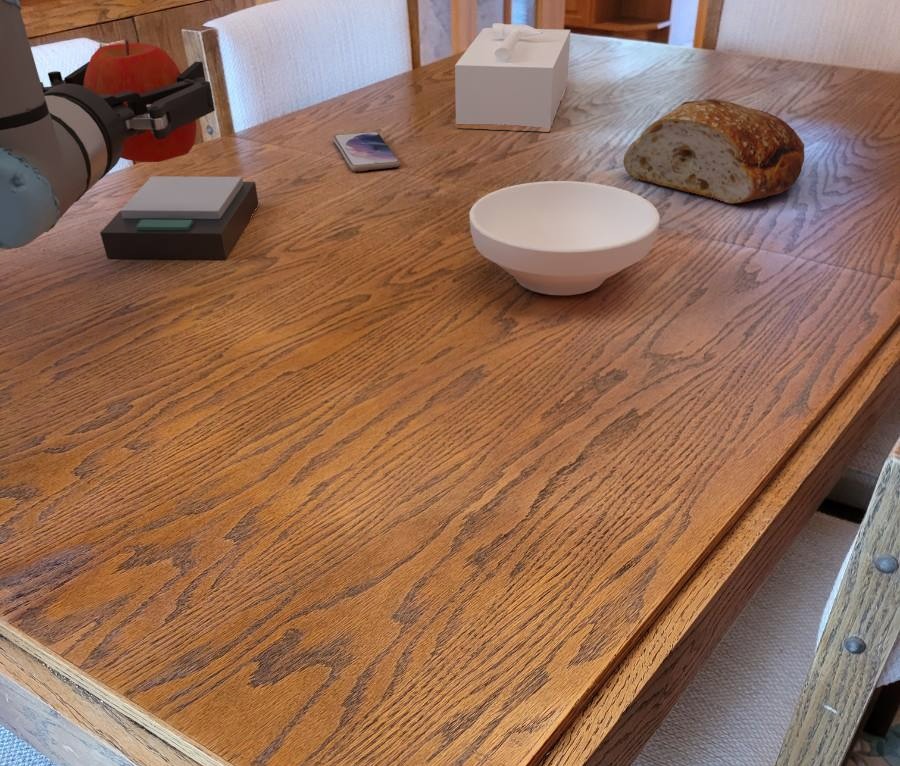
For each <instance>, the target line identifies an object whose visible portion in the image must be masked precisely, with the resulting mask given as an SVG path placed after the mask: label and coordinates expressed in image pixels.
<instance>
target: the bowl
mask: <svg viewBox="0 0 900 766" xmlns="http://www.w3.org/2000/svg"><path fill="white" fill-rule="evenodd" d="M468 214H469V215H468V216H469V228H470V229H469V230H470V235H471V238H472V242H473V246H474V247H475V249H476V250H477V252H479V253H480V255H481V256H483V257H484V258H486V259H488V260H489V261H491V262H492V263H495V264H496V265H497V266H499V267H500V268H501V269H502V270H504V271H505V272H507V273H508V274H510V275H511V276H513V277H514V279H515V280H516V282H517V283H518V284H519V285H520V286H521V287H523V288H525V289H526V290H530V291H532V292H534V293H539V294H543V295H550V296H573V295H581V294H586V293H589V292H591V291H593V290H595V289H597V288H599V287H600V286H602V284H604V282H605V281H606V280H608V278H611V277H612V276H613V275H616V274H618V273H619V272H621V271H622V270H624V269H626V268H628V267H630V266H632V265H634V264H636V263H638V262H641V260H643V259H644V258H645V257H646V256H647V255H649V253H650V251H651V250H652V248H653V246H654V243H655V241H656V239H657V236H658V232H659V227H660V221H661V220H660V218H661V215H660V213H659V211H658V209H657V208H656V206H655V205H653V204H652V203H651V202H650V201H649V200H648V199H646V198H644V197H642V196H641V195H639V194H636V193H634V192H631V191H629V190H627V189H623V188H619V187H615V186H612V185H607V184H601V183H594V182H585V181H575V180H574V181H571V180H549V181H547V180H546V181H535V182H527V183H522V184H521V183H520V184H514V185H511V186H507V187H503V188H500V189H497V190H494V191H492V192H489V193H488V194H486V195H484V196H483V197H480V198H479V199H478V200H477V201H476V202H475V203H474V204H473V205H472V206H471V209H470V210H469V212H468Z"/></svg>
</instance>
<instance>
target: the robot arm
mask: <svg viewBox="0 0 900 766" xmlns="http://www.w3.org/2000/svg"><path fill="white" fill-rule="evenodd" d="M21 10H22V4H21V1H20V0H0V249H3V250H14V249H19V248H23V247H25V246H27V245H29V244H31V243H32V242H34V241H35V240H36V239H38V238H39V237H40V236H42V235H44V233H49V231H51V230H52V229H54V228H55V227H56V225H57V223H58V222H59V220H60V219H61V218H62V217H63V216H64V215H65V213H67V212H68V210H69V209H70V208H71V207H72V206H73V205H74V203H77V202H78V201H79V200H80V199H81V198H82V197H83V196H84V195H85V194H86V193H87V192H88V191H89V190H90V189H92V188H93V186H95V185H96V184H97V183H98V182H99V181H101V180H102V179H103V178H104V177H105V176H107V174H108V173H110V171H112V169H114V168H115V166H116V165H117V164H118V163H119V161H120V159H121V158H120V157H121V154H122V151H123V147H124V143H125V140H126V139H127V138H130V137H133V136H135V135H138V134H141V133H144V132H146V130H147V129H151V131H152V134H154V138H156V139H164V138H166V137H167V136H168V135H169V134H170V133H171V132H172V131H174V130H176V129H178V128H180V127H182V126H184V125H186V124H188V123H190V122H192V121H194V120H196V121H197V120H199V119H201V118H203V117H205V116H207V115H209V114H211V113H213V112H215V111H216V109H215V104H214V98H213V92H212V91H213V90H212V87H211V82H210V81H207V80H206V73H205V70H204V63H203V61H193V63H192V64H191V65H189V66H188V67H187V68H186V69H185V70H184V71H183V72H181V74H180V75H179V76H178V77H177V78H176V79H177V83H174V84H170V85H167V86H163V87H160V88H157V89H153V90H150V91H146V92H143V93H139V94H138V93H136V92H132V91H124V92H120V93H117V94H113V95H107V94H102V95H98V94H97V93H95V92H94V91H92V90H90V89H88V88H86V87H84V86H83V83H84V78H85V74H86V70H87V67H88V65H89V62H90V61H87V62H86V63H84V64H83V65H81V66H80V67H78V68H77V69H76V70H74V71H72V72H71V73H70V74H68V75H66V76H65V77H62V73H61V71H57V70H56V71H54V70H53V71H50V72H48V73H47V76H48V79H49V82H50V86H45V85H44V82H43V81H41V78H40V75H39V72H38V69H37V64H36V61H35V58H34V54H33V50H32V47H31V44H30V41H29V37H28V33H27V30H26V25H25V23H24V18H23V15H22V12H21ZM63 78H64V79H63ZM126 101H127V105H128V106H126V105H125V104H124V103H123V102H126Z"/></svg>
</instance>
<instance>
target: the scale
mask: <svg viewBox="0 0 900 766" xmlns="http://www.w3.org/2000/svg"><path fill="white" fill-rule="evenodd" d="M257 191H258V190H257V185H256V181H244V180H243V177H242V176H177V175H175V176H174V175H173V176H169V175H167V176H165V175H164V176H161V175H160V176H157V175H156V176H154V175H153V176H150V177H149V178H148V180H147V181H146V182H145V183H144V184H143V185H142V186H141V187H140V188H139V189H138V191H136V193H135V194H134V195H133V196H132V197H131V198H130V199H129V200H128V202H127V203H125V205H124V206H123V207H122V208H121V209H120V210H119V211H118V212H117V214H116V215H115V216H114V217H113V218H112V219H111V220H110V221H109V222H108V223H107V224H106V225H105V227H104V228H103V229H102V230H101V231H100V232H99V234H100V237H101V241H102V244H103V248H104V251H105V255H106V259H108V258H112V259H113V258H114V259H113V260H115V258H116V260H117V259H120V260H122V259H124V260H198V259H215V260H214V261H226V260H227V258H228V257H229V255H230V254H231V252H232V250H233V249H234V247H235V246H236V244H237V242H238V241H239V239H240V238H239V237H241V236H242V234H243V233H244V231H245V229H246V228H247V226H248V225H247V223H248V221H249V220H250V218H251V216H252V214H253V213H254V211H255V209H256V208H257V206H258V204H259V197H258V192H257ZM259 205H260V204H259ZM257 209H258V208H257ZM254 214H255V213H254ZM252 217H253V216H252ZM251 219H252V218H251ZM250 221H251V220H250ZM250 221H249V222H250ZM248 224H249V223H248ZM246 225H247V226H246ZM245 227H246V228H245ZM244 228H245V229H244ZM243 230H244V231H243ZM242 232H243V233H242ZM241 233H242V234H241ZM240 235H241V236H240ZM237 240H238V241H237ZM126 258H127V259H126ZM217 259H218V260H217ZM220 259H221V260H220Z"/></svg>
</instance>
